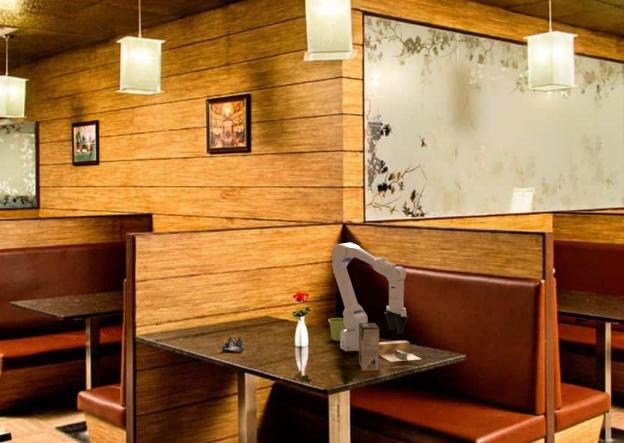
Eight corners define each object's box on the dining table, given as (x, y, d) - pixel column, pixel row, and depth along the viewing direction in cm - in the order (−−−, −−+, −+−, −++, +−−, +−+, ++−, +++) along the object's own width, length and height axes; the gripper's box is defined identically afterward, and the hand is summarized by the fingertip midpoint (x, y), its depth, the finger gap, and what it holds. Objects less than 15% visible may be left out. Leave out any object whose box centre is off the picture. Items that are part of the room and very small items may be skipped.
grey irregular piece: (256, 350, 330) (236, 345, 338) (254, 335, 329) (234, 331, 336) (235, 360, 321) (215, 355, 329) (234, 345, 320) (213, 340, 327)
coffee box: (358, 364, 305) (358, 322, 304) (375, 364, 305) (375, 322, 304) (361, 370, 296) (362, 327, 295) (379, 370, 296) (379, 327, 295)
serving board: (390, 363, 307) (390, 361, 307) (374, 354, 322) (374, 352, 322) (421, 361, 311) (421, 359, 311) (403, 352, 326) (404, 350, 326)
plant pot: (324, 340, 347) (324, 320, 347) (332, 336, 356) (332, 317, 355) (345, 342, 344) (345, 322, 343) (352, 338, 352) (352, 318, 352)
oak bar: (377, 354, 318) (377, 344, 317) (373, 352, 321) (373, 342, 321) (409, 352, 322) (409, 342, 322) (405, 350, 326) (405, 340, 326)
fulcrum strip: (402, 359, 310) (402, 353, 310) (394, 355, 316) (394, 350, 316) (407, 359, 310) (407, 353, 310) (399, 355, 317) (399, 349, 317)
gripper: (413, 299, 311) (413, 334, 312) (397, 294, 325) (397, 327, 326) (397, 300, 309) (396, 335, 310) (381, 295, 323) (381, 328, 323)
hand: (396, 331), depth 318 cm, fingers open, 7 cm apart
